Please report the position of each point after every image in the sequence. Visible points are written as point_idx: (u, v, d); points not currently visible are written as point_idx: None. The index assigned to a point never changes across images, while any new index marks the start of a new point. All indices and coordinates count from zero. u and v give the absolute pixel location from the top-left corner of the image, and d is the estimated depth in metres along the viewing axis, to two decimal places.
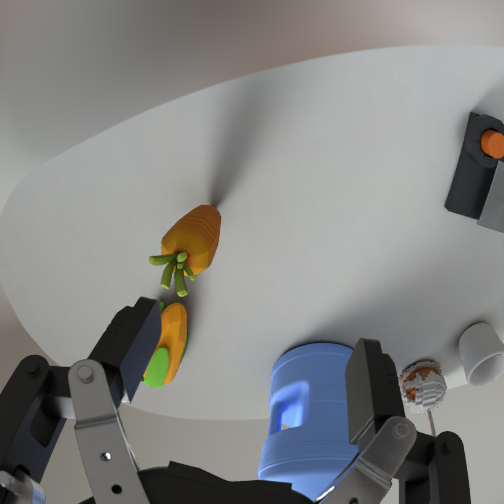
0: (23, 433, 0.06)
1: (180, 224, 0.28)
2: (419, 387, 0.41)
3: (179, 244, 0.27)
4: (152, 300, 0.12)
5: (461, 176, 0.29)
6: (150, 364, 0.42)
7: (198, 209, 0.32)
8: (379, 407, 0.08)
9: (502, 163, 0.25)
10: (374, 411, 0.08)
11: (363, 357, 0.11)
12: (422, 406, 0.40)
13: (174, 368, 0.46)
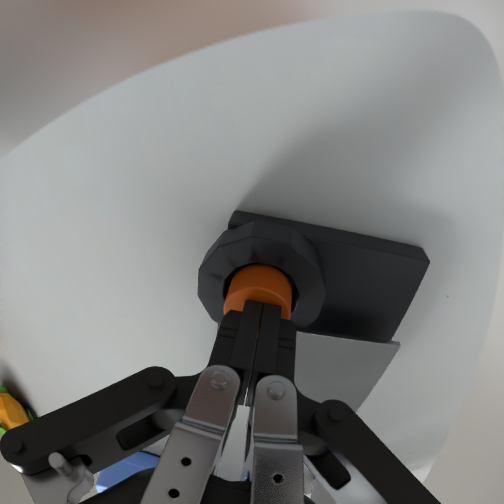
0: (106, 434, 0.07)
1: None
2: None
3: None
4: (258, 302, 0.12)
5: None
6: None
7: None
8: (260, 364, 0.10)
9: (299, 334, 0.15)
10: (254, 368, 0.09)
11: (261, 320, 0.12)
12: None
13: None
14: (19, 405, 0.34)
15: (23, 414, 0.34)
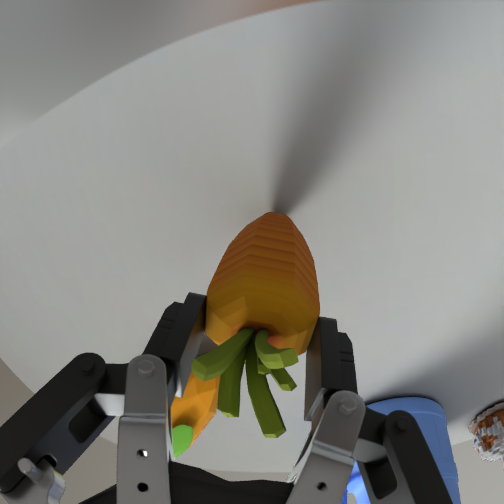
0: (60, 428, 0.07)
1: (250, 260, 0.12)
2: (498, 434, 0.26)
3: (255, 312, 0.11)
4: (201, 295, 0.12)
5: None
6: None
7: (268, 222, 0.16)
8: (327, 381, 0.09)
9: None
10: (322, 384, 0.09)
11: (318, 334, 0.11)
12: (498, 454, 0.25)
13: (196, 437, 0.31)
14: None
15: None
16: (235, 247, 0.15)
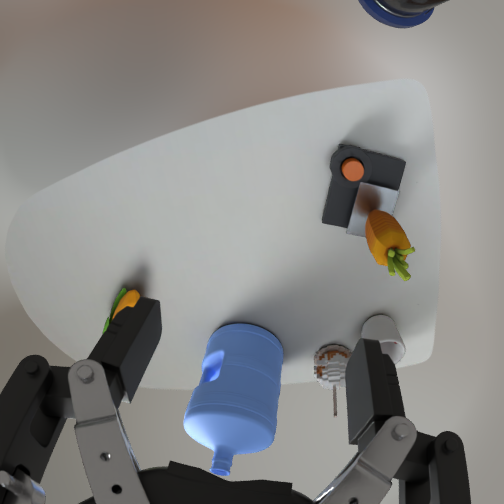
0: (23, 433, 0.06)
1: (389, 225, 0.33)
2: (325, 365, 0.57)
3: (395, 241, 0.32)
4: (152, 300, 0.12)
5: (330, 196, 0.44)
6: None
7: (382, 213, 0.37)
8: (379, 407, 0.08)
9: (364, 183, 0.41)
10: (374, 411, 0.08)
11: (363, 357, 0.11)
12: None
13: None
14: None
15: None
16: (375, 222, 0.36)
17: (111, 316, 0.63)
